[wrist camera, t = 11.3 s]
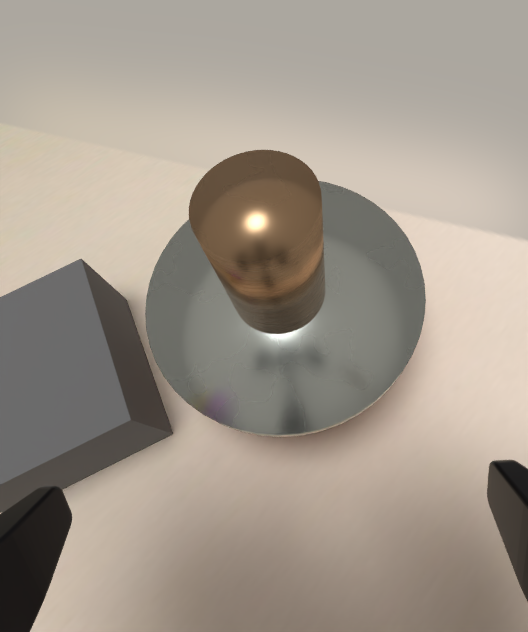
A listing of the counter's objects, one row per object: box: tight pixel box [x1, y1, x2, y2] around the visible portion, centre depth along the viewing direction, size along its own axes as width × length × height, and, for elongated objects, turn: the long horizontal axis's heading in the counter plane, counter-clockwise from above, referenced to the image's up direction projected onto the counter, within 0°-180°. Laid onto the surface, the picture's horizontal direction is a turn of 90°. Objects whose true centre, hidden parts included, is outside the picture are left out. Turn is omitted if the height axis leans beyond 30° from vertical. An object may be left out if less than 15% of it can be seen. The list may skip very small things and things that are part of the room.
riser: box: [0, 259, 173, 513], centre depth 21 cm, size 9×9×5 cm
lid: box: [145, 150, 426, 437], centre depth 15 cm, size 12×12×7 cm
